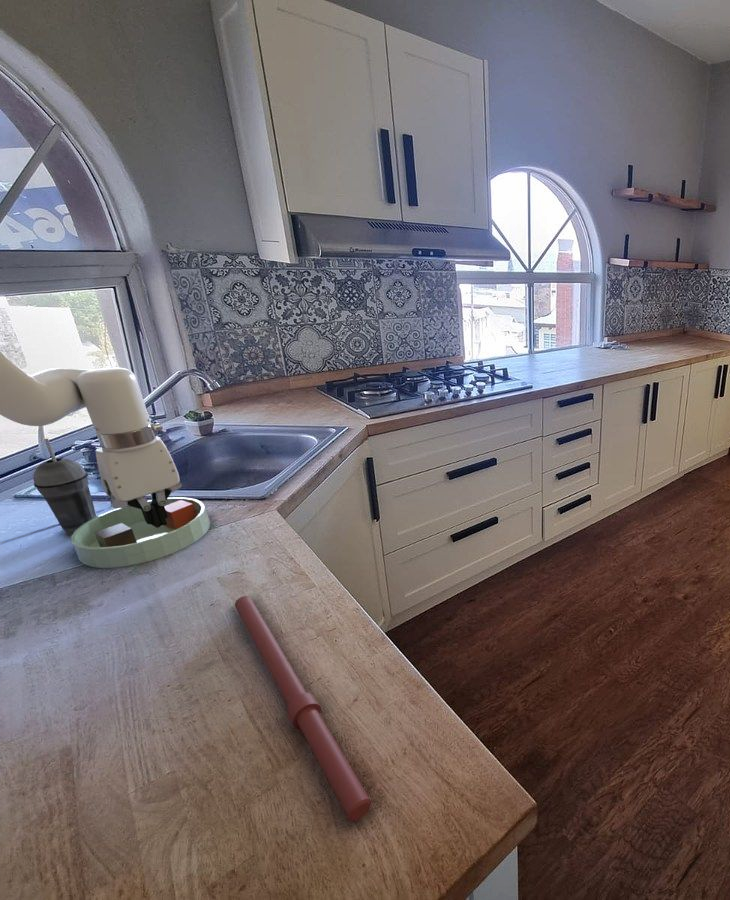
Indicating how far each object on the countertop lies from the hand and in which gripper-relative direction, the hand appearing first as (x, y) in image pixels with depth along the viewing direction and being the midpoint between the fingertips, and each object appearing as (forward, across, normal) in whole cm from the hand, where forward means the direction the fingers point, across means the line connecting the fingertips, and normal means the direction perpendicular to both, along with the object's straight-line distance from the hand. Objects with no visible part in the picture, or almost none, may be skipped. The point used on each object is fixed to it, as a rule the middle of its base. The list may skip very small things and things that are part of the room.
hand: (158, 524), depth 98 cm
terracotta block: (+2, -4, -1) cm, 4 cm away
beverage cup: (+3, +7, -15) cm, 17 cm away
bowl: (+3, +2, 0) cm, 3 cm away
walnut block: (+2, +6, 0) cm, 7 cm away
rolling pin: (+3, +10, +58) cm, 59 cm away
